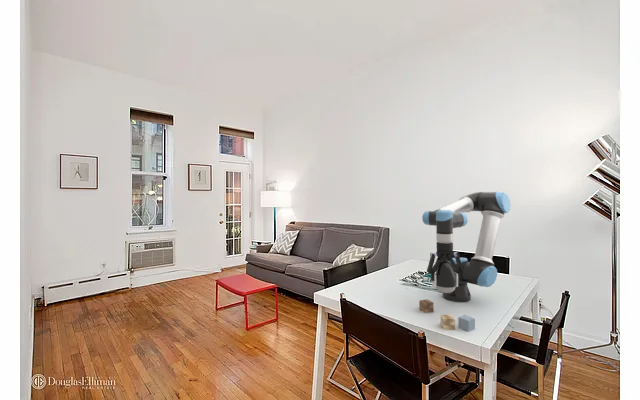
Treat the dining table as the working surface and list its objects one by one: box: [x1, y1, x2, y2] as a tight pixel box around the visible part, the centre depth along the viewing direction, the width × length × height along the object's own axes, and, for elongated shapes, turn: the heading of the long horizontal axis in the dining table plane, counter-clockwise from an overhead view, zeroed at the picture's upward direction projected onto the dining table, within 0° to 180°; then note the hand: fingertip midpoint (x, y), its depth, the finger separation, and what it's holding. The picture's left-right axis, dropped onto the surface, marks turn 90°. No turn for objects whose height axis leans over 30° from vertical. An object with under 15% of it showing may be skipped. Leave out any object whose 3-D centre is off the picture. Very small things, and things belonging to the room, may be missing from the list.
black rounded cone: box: [435, 261, 457, 294], centre depth 155 cm, size 10×10×15 cm
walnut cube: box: [418, 299, 434, 314], centre depth 166 cm, size 5×5×5 cm
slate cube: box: [457, 314, 476, 333], centre depth 145 cm, size 5×5×5 cm
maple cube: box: [440, 314, 456, 331], centre depth 146 cm, size 5×5×5 cm
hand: (445, 286), depth 155 cm, fingers closed on black rounded cone, 10 cm apart
